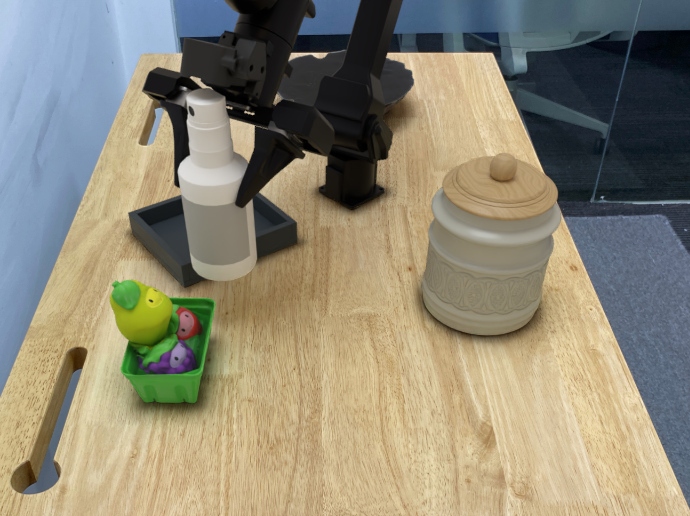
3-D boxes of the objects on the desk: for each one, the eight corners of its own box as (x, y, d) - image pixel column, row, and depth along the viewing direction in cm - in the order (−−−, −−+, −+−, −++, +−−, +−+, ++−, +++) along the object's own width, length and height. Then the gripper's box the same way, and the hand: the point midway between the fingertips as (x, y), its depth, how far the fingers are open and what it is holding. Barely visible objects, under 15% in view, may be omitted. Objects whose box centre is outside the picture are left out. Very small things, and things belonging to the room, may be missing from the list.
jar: (418, 264, 91) (434, 122, 79) (529, 268, 90) (562, 125, 78) (422, 336, 82) (441, 187, 69) (546, 341, 81) (587, 191, 69)
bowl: (417, 142, 112) (420, 109, 109) (267, 141, 112) (265, 107, 109) (406, 80, 128) (409, 49, 125) (275, 79, 128) (274, 47, 125)
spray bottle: (179, 261, 81) (151, 94, 68) (231, 236, 84) (214, 72, 71) (217, 291, 77) (195, 121, 64) (270, 264, 80) (259, 97, 68)
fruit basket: (207, 413, 73) (194, 322, 66) (115, 412, 74) (91, 320, 66) (221, 335, 82) (210, 246, 74) (137, 334, 82) (118, 244, 74)
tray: (239, 195, 102) (238, 175, 100) (297, 243, 94) (297, 221, 92) (131, 233, 95) (127, 212, 93) (184, 287, 88) (181, 266, 85)
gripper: (136, -24, 68) (79, 144, 70) (318, 13, 62) (251, 198, 63) (199, 36, 79) (149, 181, 80) (361, 74, 72) (303, 232, 73)
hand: (207, 196), depth 74 cm, fingers closed on spray bottle, 7 cm apart
